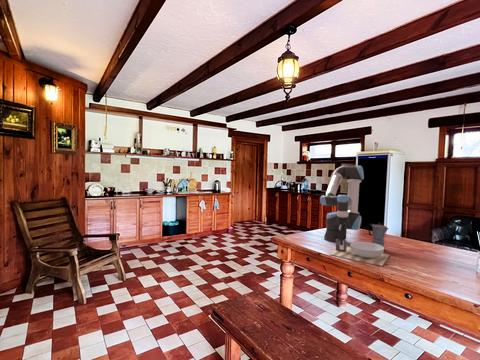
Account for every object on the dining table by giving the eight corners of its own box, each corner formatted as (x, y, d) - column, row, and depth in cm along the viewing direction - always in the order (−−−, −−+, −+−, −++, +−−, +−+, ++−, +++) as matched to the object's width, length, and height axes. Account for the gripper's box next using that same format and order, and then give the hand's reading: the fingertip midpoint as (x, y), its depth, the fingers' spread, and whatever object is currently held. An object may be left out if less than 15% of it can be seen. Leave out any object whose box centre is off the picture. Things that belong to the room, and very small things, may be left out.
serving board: (329, 255, 175) (330, 242, 175) (341, 246, 194) (341, 235, 194) (381, 266, 155) (382, 252, 154) (389, 255, 174) (389, 243, 173)
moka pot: (385, 252, 181) (386, 224, 180) (363, 247, 193) (364, 221, 192) (390, 249, 187) (391, 222, 186) (369, 245, 199) (369, 219, 198)
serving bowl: (354, 249, 186) (354, 239, 186) (386, 255, 173) (387, 245, 173) (345, 256, 170) (345, 246, 170) (380, 263, 157) (380, 252, 157)
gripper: (344, 218, 173) (344, 252, 174) (351, 215, 184) (350, 247, 185) (333, 217, 178) (333, 250, 178) (340, 214, 189) (340, 245, 190)
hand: (342, 248), depth 182 cm, fingers closed on serving board, 2 cm apart
